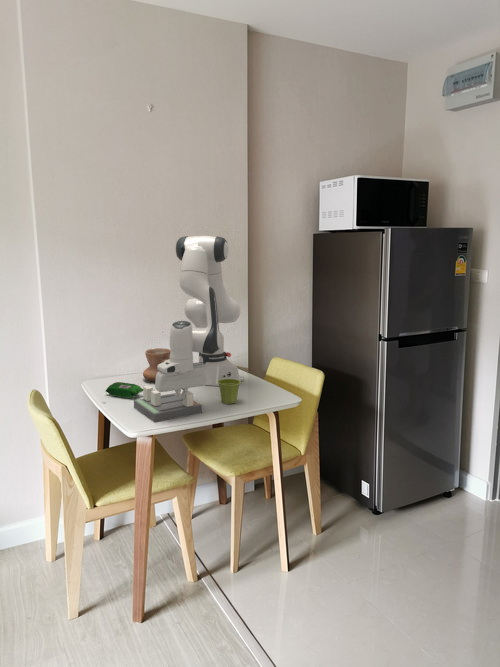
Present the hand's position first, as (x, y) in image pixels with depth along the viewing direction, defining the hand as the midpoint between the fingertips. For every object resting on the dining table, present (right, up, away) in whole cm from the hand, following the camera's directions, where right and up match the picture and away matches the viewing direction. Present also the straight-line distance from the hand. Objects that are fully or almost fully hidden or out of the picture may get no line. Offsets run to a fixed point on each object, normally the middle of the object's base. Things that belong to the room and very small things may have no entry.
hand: (181, 399), depth 202 cm
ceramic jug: (-16, +3, +45) cm, 48 cm away
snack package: (-27, -1, +22) cm, 34 cm away
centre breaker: (-10, -2, +2) cm, 10 cm away
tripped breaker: (+2, -2, +2) cm, 4 cm away
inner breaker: (-14, -1, +7) cm, 16 cm away
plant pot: (+18, -3, +17) cm, 25 cm away
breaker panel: (-6, -5, +5) cm, 9 cm away
